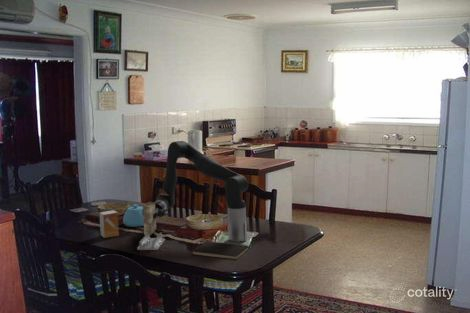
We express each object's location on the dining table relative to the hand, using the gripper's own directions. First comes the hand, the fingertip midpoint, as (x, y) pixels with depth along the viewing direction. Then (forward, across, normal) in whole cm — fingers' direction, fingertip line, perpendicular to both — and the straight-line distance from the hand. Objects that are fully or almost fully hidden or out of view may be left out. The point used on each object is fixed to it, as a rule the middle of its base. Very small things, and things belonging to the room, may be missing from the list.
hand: (149, 216), depth 267 cm
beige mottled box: (0, 0, +8) cm, 8 cm away
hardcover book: (+10, +37, +15) cm, 41 cm away
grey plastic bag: (0, 0, +14) cm, 15 cm away
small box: (-15, -27, +15) cm, 34 cm away
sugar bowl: (-38, -19, +15) cm, 45 cm away
